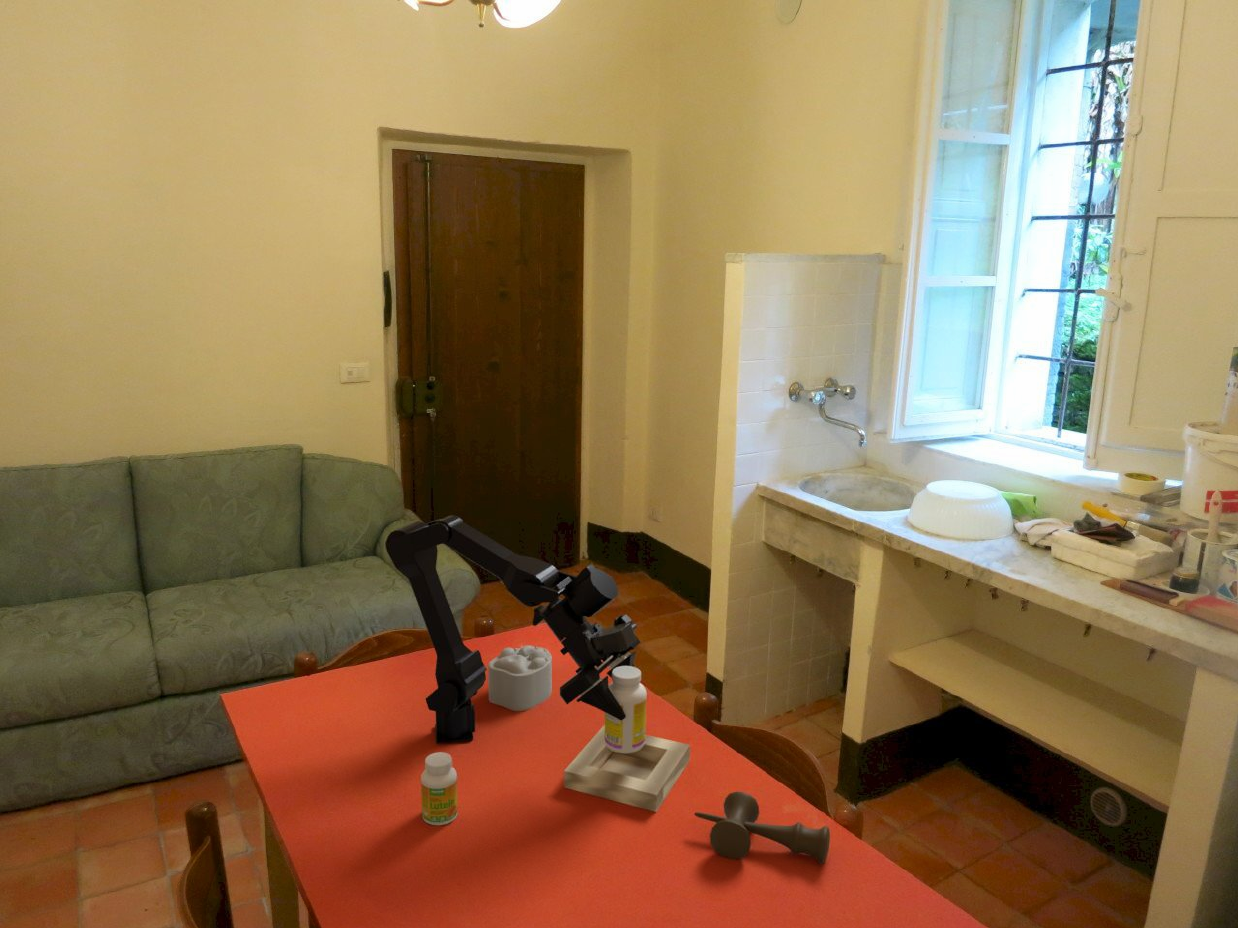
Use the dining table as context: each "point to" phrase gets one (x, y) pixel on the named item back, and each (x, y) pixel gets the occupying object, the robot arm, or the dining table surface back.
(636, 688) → the supplement bottle
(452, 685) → the robot arm
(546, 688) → the lumpy-topped squat cylinder
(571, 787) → the birch well block
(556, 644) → the dining table surface
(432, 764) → the supplement bottle
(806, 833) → the kendama
